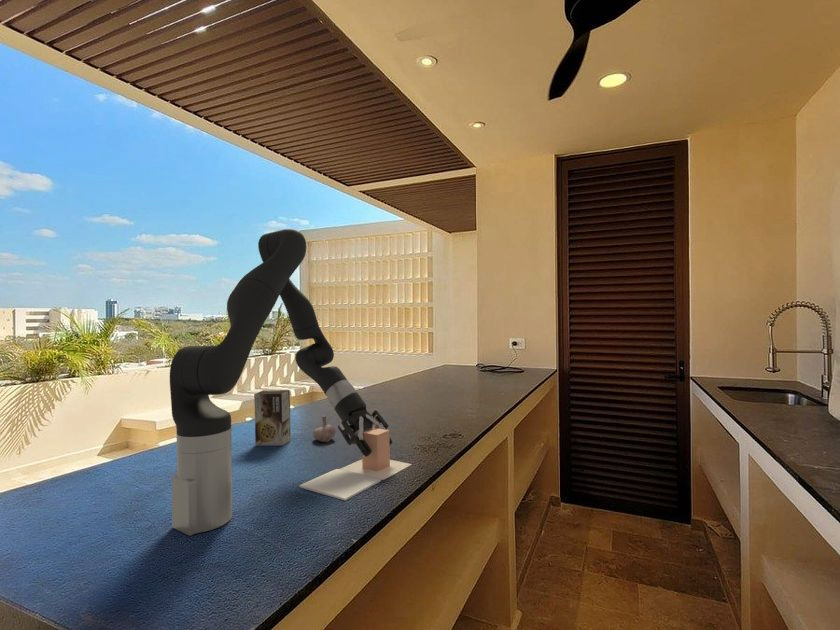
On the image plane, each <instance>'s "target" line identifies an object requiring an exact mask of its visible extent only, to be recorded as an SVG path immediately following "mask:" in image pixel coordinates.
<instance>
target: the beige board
mask: <svg viewBox="0 0 840 630" xmlns="http://www.w3.org/2000/svg"><path fill="white" fill-rule="evenodd" d="M380 482H382V479H378V478H374V477H370V476H366V475H361V474H357V473H353V472H349V471H345V470H341V468H335V469H333V470H331V471H329V472H327V473H324V474H322V475H320V476H317V477H315V478H312V479H311V480H308V481H306V482H303V483H301V484H299V486H298V487H299V488H300V489H304V490H308V491H311V492H315V493H318V494H321V495H325V496H328V497H331V498H335V499H338V500H342V501H348V500H349V499H352V498H354V497H355V496H356V495H358V494H360V493H362V492H364V491H366V490H368V489H369V488H371V487H373V486H375V485H377V484H379V483H380Z"/></svg>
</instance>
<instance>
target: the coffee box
mask: <svg viewBox="0 0 840 630" xmlns="http://www.w3.org/2000/svg"><path fill="white" fill-rule="evenodd" d="M290 394H291V392H290V389H286V390H285V389H272V390H271V389H269V390H266V389H265V390H261V391H258V392H256V393H254V394H253V395H254V396H253V397H254V399H253V400H254V433H255V434H254V435H255V436H254V437H255V444H254V445H255V446H260V447H261V446H263V447H264V446H265V447H267V446H277V447H278V446H285V445H286V444H287V443H289V442H290V441H291V437H292V436H291V397H290V396H291V395H290Z"/></svg>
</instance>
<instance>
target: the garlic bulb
mask: <svg viewBox="0 0 840 630" xmlns="http://www.w3.org/2000/svg"><path fill="white" fill-rule="evenodd" d="M321 418H322V419H321V420H322V426H320V427H318V428H315V429H314V430H313V436H312V437H313V438H314V439H315V440H316V441H318V442H321V443H329V442H330V441H331V440H332V439H333V438H334V437H335V436H336V429H335V427H334V426H332V425H331V424H327V416H325V415H322V416H321Z"/></svg>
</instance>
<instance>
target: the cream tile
mask: <svg viewBox="0 0 840 630" xmlns="http://www.w3.org/2000/svg"><path fill="white" fill-rule="evenodd" d="M412 465H413V464H411V463H408V462H403V461H398V460H393V459H390V466H388V467H386V468H384V469H382V470H380V471H374V470H369V469H365V468H362V458H361V459H359V460H356V461H354V462H353V463H350V464H348V465H346V466H343V467H342V468H340V470H344V471H348V472H353V473H357V474H361V475H365V476H369V477H373V478H377V479H381V481H382V480H383V481H384V480H386V479H387V478H390V477H392V476H394V475H396V474H397V473H399V472H401V471H402V470H404V469H406V468H408V467H410V466H412Z"/></svg>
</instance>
